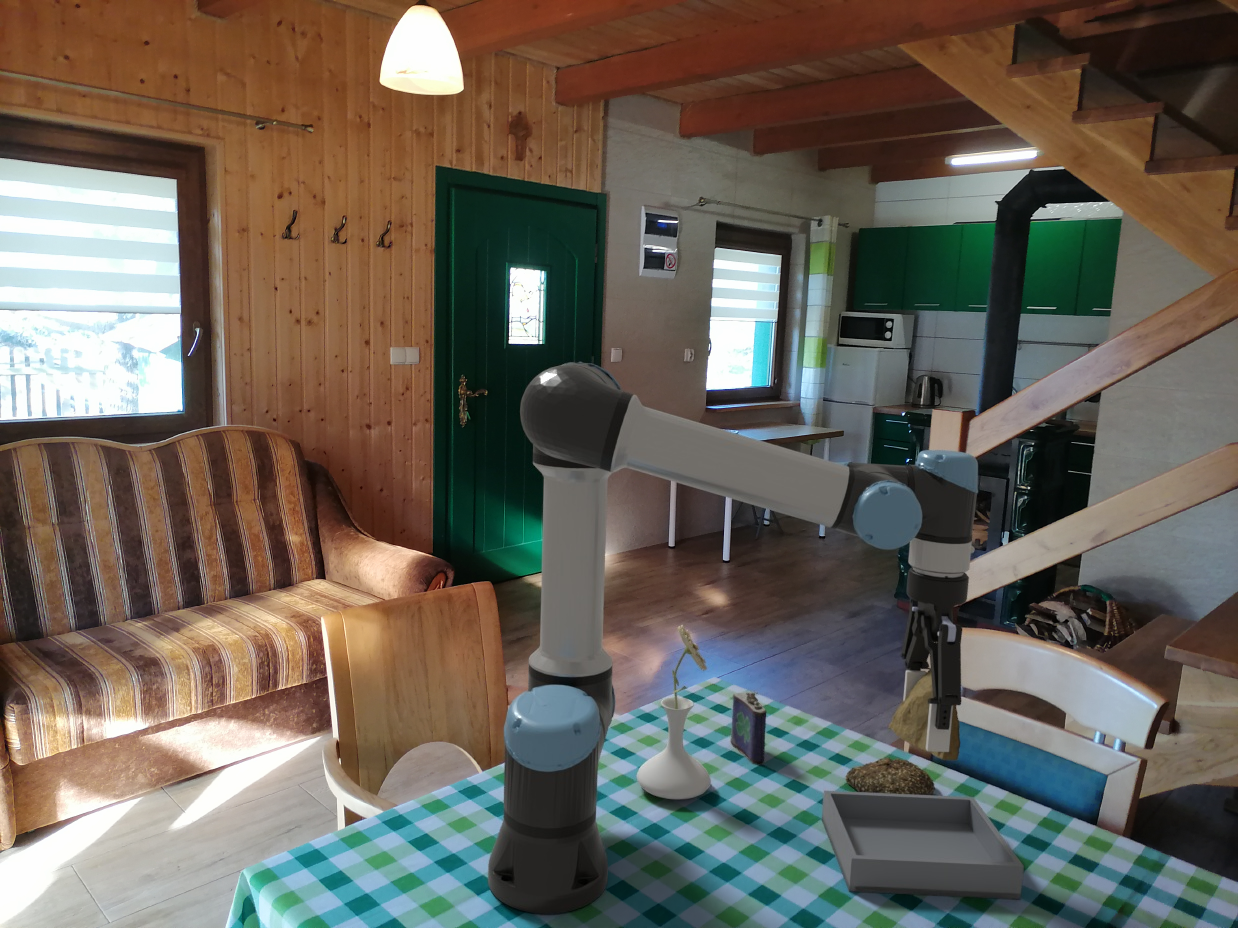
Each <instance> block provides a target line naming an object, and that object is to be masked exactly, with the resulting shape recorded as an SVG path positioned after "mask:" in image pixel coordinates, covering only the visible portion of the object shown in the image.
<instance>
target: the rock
mask: <svg viewBox="0 0 1238 928" xmlns="http://www.w3.org/2000/svg"><path fill="white" fill-rule="evenodd" d="M929 668H930V669H928V671H926V672H927V673H926V674H925V675H923V676H922V678H921V679H920V680H919V681H918V682H917V683H916V684H915V686H914V688H913V689H912V690H911V691H910V693H909V695H908V697H907V698H906V699H905V700H904V701H903V700H902V702H901V703H900V705H898V707H897V709H896V710H895V713H894V715H892V718H891V722H890V723H889V724H888V728H887V729H888V730H892V731H893V732H894V733H895V734H896V736H898V738H899V739H900V740H903V741H904V742H906V743H908V744H910V745H912V746H914V747H917V748H919V749H920V750H922V751H924V752H926V753H930V754H931V755H933V756H934V757H936V758H937V759H940V760H942V761H957V760H958V759H959V755H960V747H961V739H960V735H961V734H960V721H959V715H958V709H957V705H953V712H952V723H951V733H950V744H949V752H936V751H927V750H926V739H927V728H928V716H929V705H930V704H929V703H928V700H927V699H929V698H933V689H932V677H931V667H929ZM947 695H948V694H947Z"/></svg>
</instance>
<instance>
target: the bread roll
mask: <svg viewBox="0 0 1238 928" xmlns="http://www.w3.org/2000/svg"><path fill="white" fill-rule="evenodd" d="M845 781H846V782H847V784H848V785H849V786H850V787H852V789H854V790H855V791H856V792H867V793H889V794H911V795H933V793H934V791H935V783H934V780H933V779H932V778H931V776H930V775H929V773H928V772H926V770H924V769H923V768H922V769H921V768H920V767H919V766H918V765H916V764H914V763H913V762H911V761H909V760H907V759H900V758H895V759H892V758H890V757H884V758H879V759H877V760H875V761H873V762H871V761H870V762H868V763H865V764H863V765H861V766H860V765H859V766H854V767H851V768H850V770H848V771H847V774H846V775H845Z"/></svg>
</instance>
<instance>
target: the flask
mask: <svg viewBox="0 0 1238 928" xmlns="http://www.w3.org/2000/svg"><path fill="white" fill-rule="evenodd" d="M732 694H733V695H732V698H733V699H732V714H731V715H732V717H731V720H732V721H731V729H730V730H731V731H730V744H731V745H732V747H733V748H735V749H736V750H737V752H739V753H740V754H742V755H744V757H745V758H747V760H748V761H750V763H751V764H755V765H757V766H758V765H763V764H765V751H766V750H765V749H766V728H767V727H766V725H767V720H766V719H767V710H766V709H765V708H764V706H763V704H761V703H760V702H759V699H758V698H757V697H756V695H757V694H759V693H758V691H755V690H754V691H745V693H743V692H735V693H732Z"/></svg>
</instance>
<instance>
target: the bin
mask: <svg viewBox="0 0 1238 928" xmlns="http://www.w3.org/2000/svg"><path fill="white" fill-rule="evenodd" d="M821 821H822V824H823V827H824V829H825V832H826V835H827V839H828V840H829V843H830V845H831V848H832V850H833V852H834V855H835V858H836V861H837V864H838V865H839V869H840V871H841V874H842V876H843V879H844V882H845V884H846V887H847V890H848V892H851V893H852V892H853V893H855V892H856V893H872V894H873V893H875V894H876V893H877V894H878V893H879V894H898V895H918V896H938V897H939V896H940V897H960V898H961V897H962V898H963V897H964V898H980V899H981V898H985V899H1005V900H1006V899H1007V900H1021V895H1022V887H1023V886H1022V885H1023V878H1024V868H1025V866H1024V865H1023V863H1022V862H1021V860H1020V859H1019V858H1018V856H1017V855H1016V854H1015V852H1014V851H1013V850H1012V848H1011V846H1010V845H1009V844H1008V842H1007V841H1006V839H1004V837H1003V836H1002V834H1001V833H1000V832H999V830H998V829H997V827H996V826H995V824H994V823H993V821H992V820H991V819H990V818H989V817H988V815H987V814H986V812H985V811H984V810H983V808H982V807H981V805H980V804H979V803H978V801H977V800H976V799H975V797H973V796H955V795H954V796H953V795H951V796H950V795H933V794H932V795H911V794H889V793H867V792H859V791H844V790H843V791H842V790H841V791H840V790H823V797H822V810H821Z"/></svg>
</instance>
